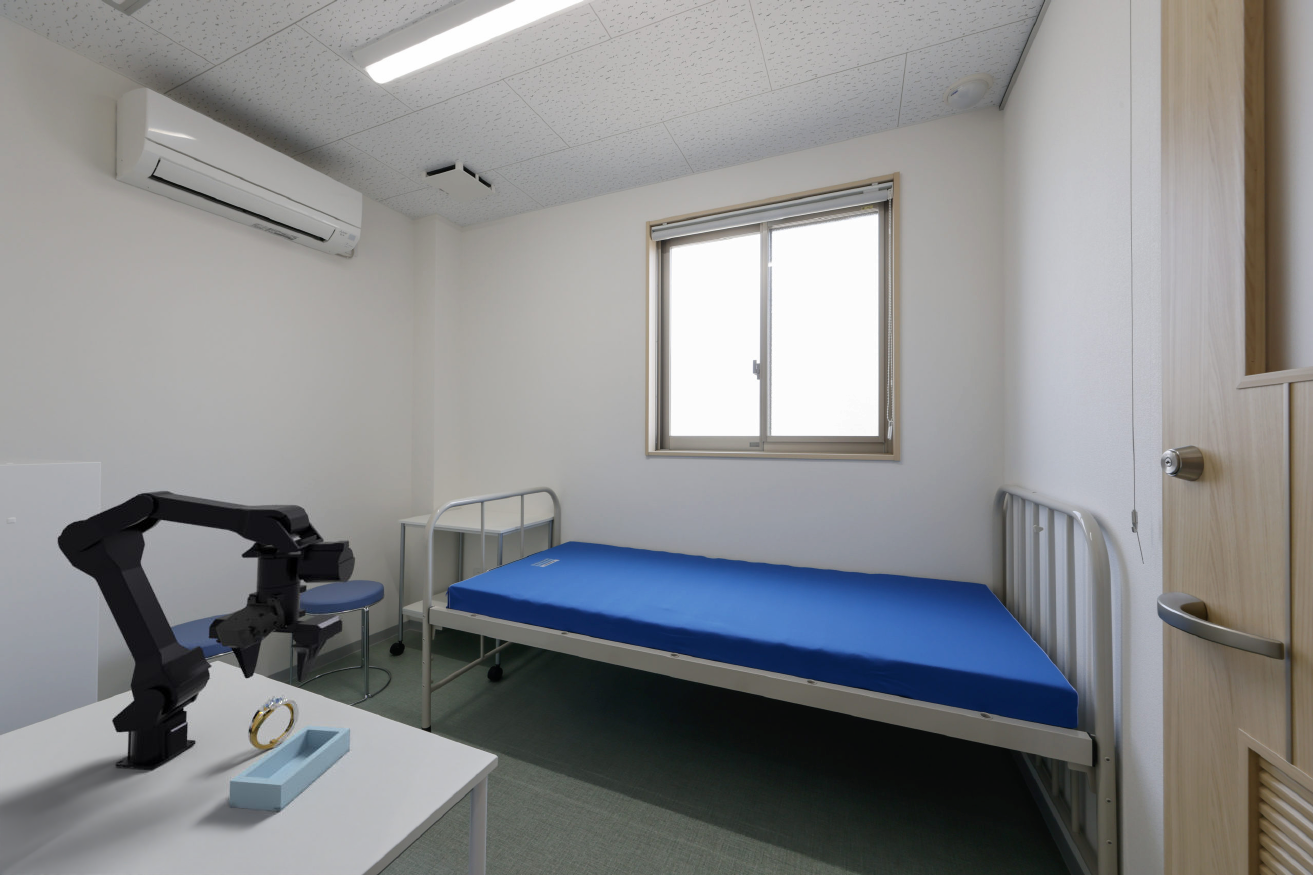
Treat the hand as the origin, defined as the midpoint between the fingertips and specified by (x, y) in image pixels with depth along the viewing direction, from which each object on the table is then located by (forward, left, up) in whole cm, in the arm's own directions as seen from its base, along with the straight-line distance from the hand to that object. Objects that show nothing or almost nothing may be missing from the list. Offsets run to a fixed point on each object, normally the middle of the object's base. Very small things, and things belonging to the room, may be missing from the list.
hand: (275, 679), depth 78 cm
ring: (0, 0, -11) cm, 11 cm away
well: (+9, -6, -11) cm, 15 cm away
